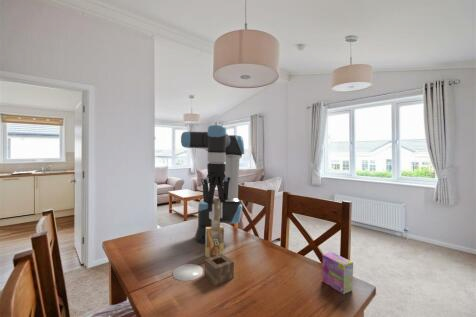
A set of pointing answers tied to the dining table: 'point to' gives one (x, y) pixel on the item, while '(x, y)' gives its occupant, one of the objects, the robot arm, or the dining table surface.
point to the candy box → (214, 243)
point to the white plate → (187, 272)
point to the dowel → (216, 219)
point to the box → (337, 272)
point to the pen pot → (219, 269)
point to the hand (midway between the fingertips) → (215, 217)
